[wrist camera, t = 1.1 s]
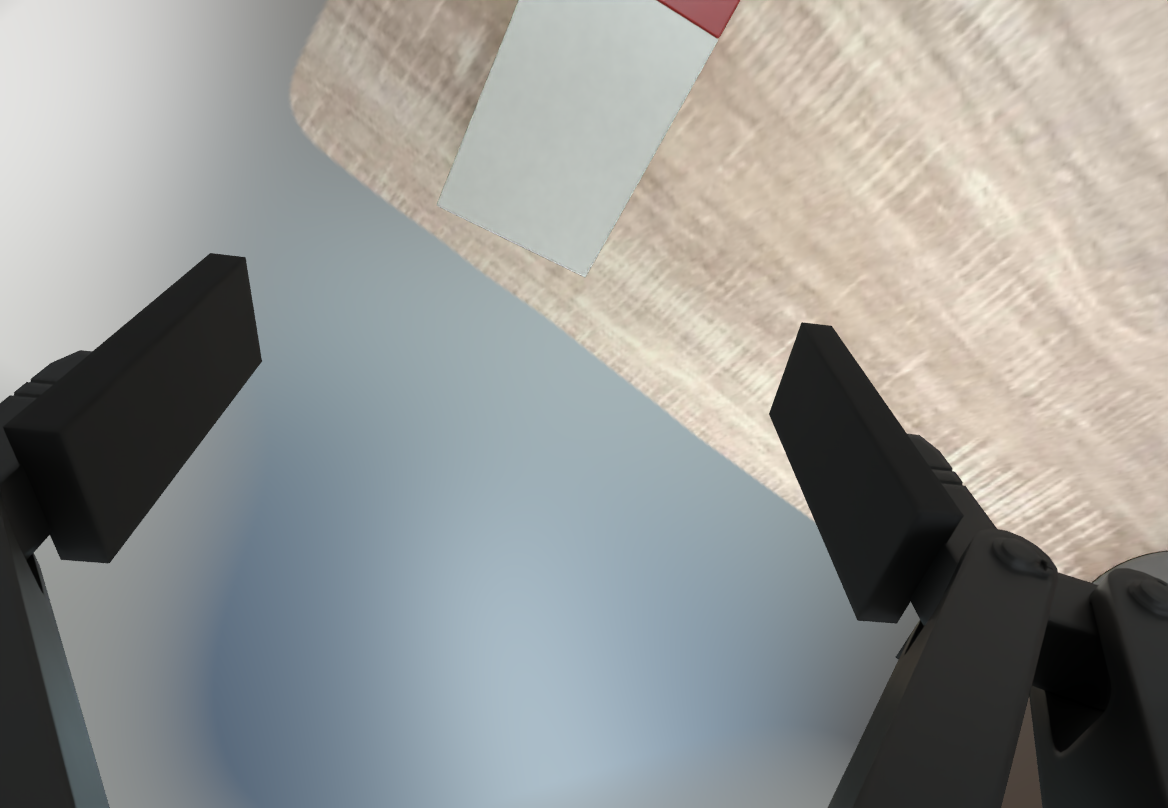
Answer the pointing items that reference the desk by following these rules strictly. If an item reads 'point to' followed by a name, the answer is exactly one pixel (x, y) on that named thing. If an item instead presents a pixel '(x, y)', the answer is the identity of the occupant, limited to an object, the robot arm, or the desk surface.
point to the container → (577, 118)
